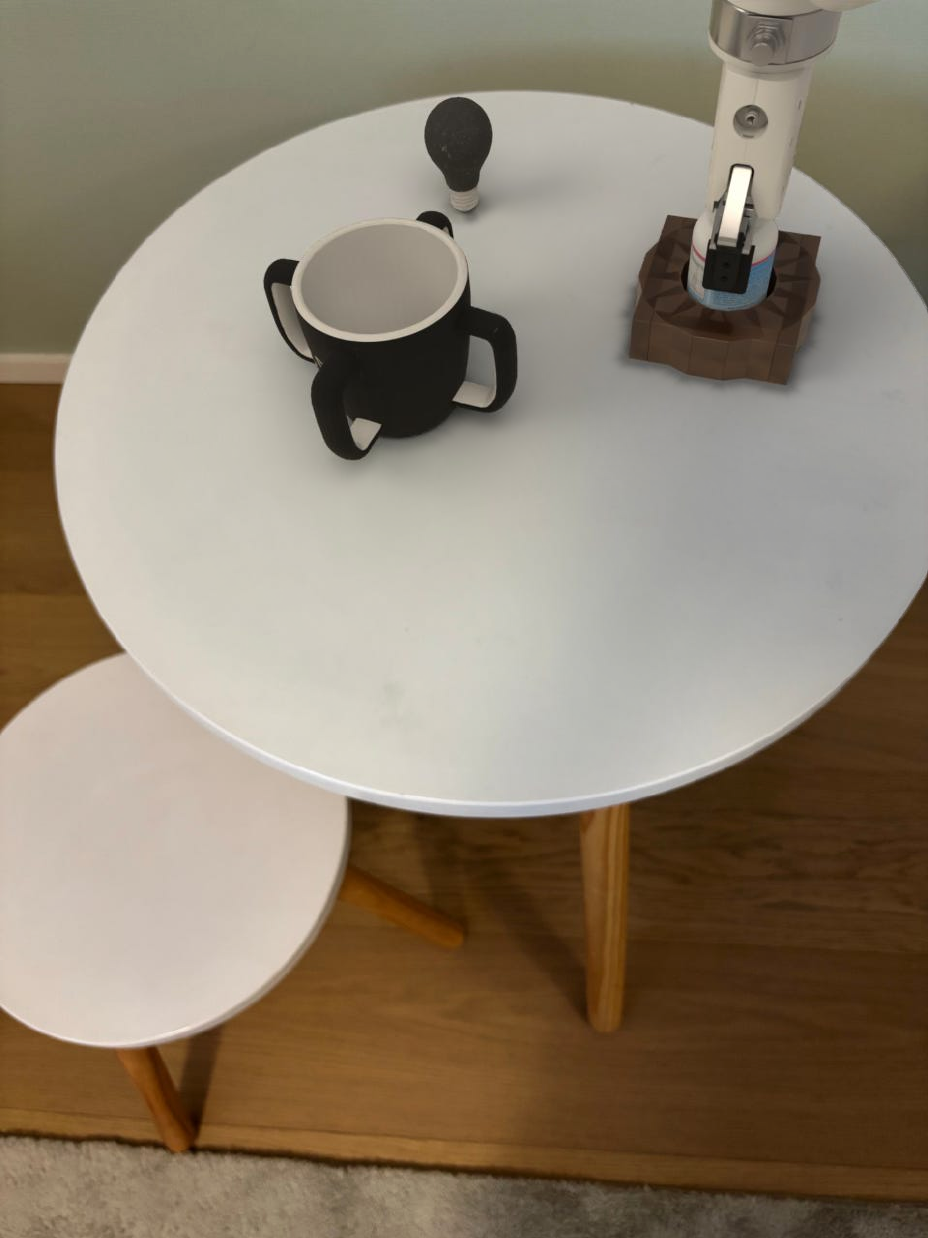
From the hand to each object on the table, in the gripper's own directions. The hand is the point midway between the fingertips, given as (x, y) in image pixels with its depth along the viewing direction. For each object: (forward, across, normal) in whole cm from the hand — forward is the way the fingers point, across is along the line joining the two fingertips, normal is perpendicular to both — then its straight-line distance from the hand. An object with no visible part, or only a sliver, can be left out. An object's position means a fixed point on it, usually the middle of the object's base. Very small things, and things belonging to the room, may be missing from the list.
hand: (733, 255), depth 77 cm
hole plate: (+6, 0, 0) cm, 6 cm away
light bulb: (+6, +8, +24) cm, 26 cm away
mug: (+6, -14, +22) cm, 27 cm away
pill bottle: (+6, 0, 0) cm, 6 cm away
